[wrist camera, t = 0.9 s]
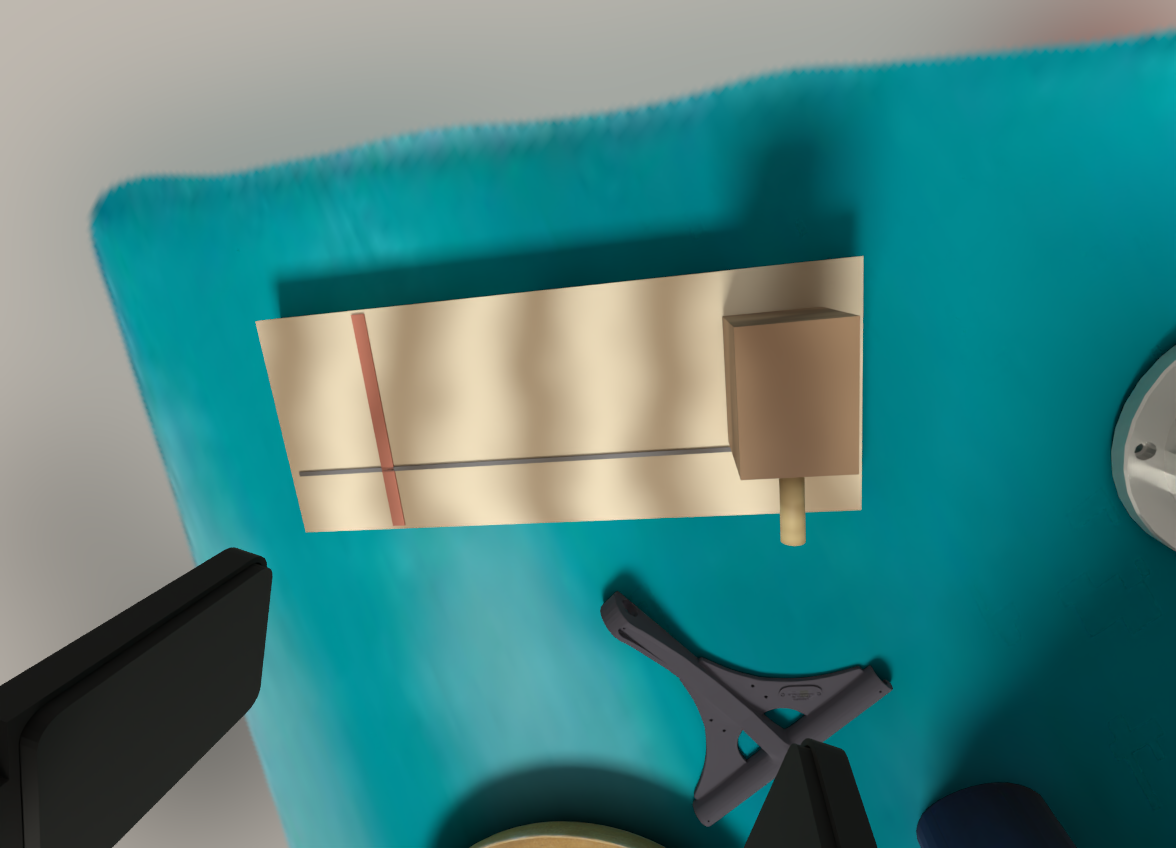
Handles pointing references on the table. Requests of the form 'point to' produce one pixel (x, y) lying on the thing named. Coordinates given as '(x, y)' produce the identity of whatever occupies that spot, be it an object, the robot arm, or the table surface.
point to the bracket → (744, 708)
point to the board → (536, 403)
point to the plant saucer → (565, 837)
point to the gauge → (793, 401)
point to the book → (991, 820)
